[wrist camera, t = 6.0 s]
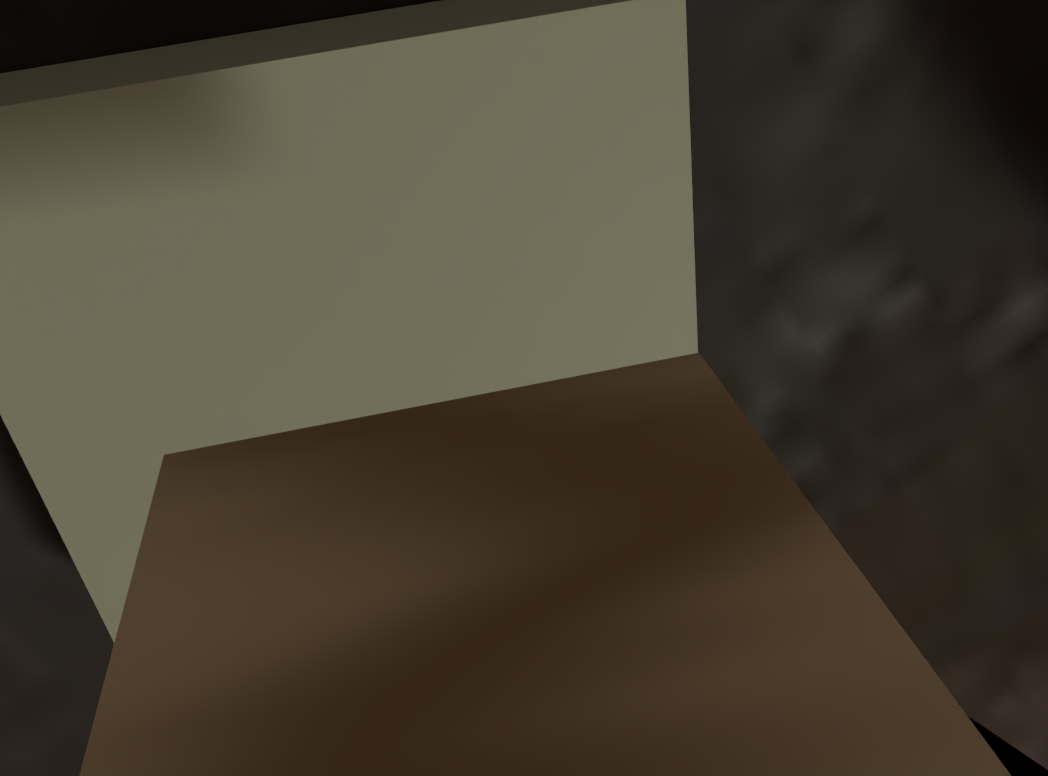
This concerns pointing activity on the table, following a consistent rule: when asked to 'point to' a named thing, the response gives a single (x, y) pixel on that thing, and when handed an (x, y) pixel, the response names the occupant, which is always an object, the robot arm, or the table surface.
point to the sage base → (330, 234)
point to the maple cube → (513, 603)
